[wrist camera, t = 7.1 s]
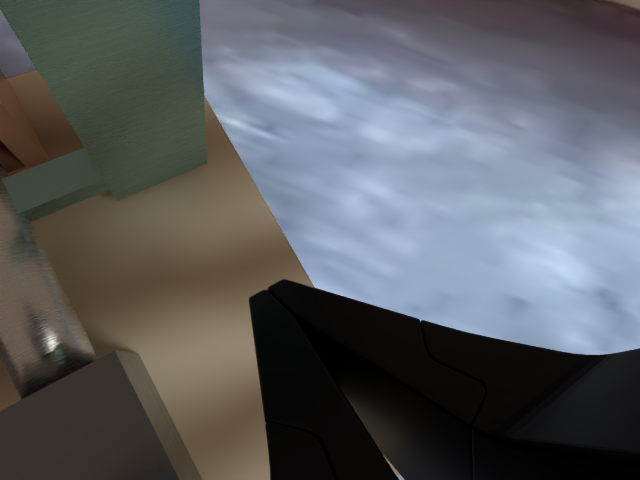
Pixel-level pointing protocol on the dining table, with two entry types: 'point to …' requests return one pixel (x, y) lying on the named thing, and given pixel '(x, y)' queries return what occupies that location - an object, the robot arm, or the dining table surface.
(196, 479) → the sleeve
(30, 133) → the orange block
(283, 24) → the dining table surface
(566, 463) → the robot arm
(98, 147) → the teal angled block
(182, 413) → the birch board
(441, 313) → the dining table surface
